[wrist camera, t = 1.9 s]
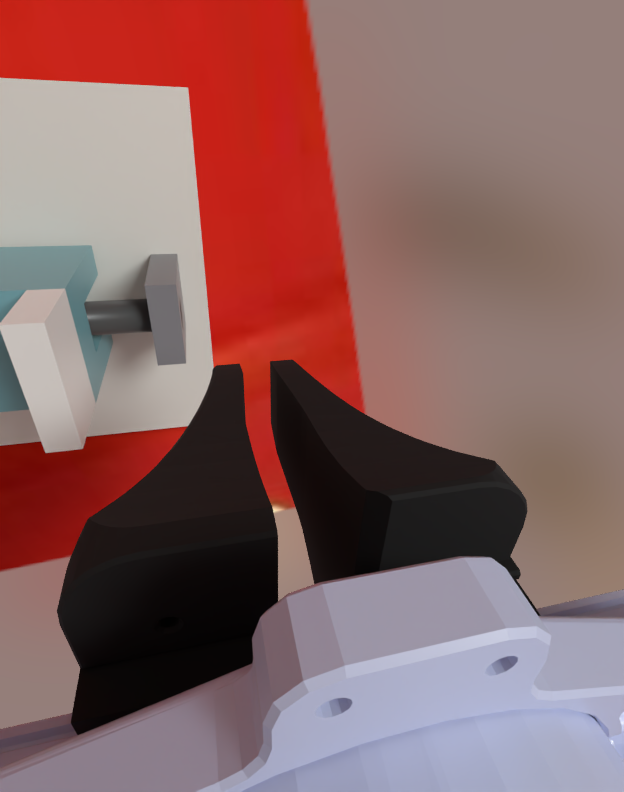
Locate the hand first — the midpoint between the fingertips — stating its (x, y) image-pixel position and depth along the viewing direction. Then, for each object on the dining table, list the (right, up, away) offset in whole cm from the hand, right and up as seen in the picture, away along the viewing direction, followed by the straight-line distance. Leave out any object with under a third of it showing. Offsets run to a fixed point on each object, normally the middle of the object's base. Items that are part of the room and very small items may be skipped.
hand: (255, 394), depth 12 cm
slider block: (-9, +4, +5) cm, 11 cm away
